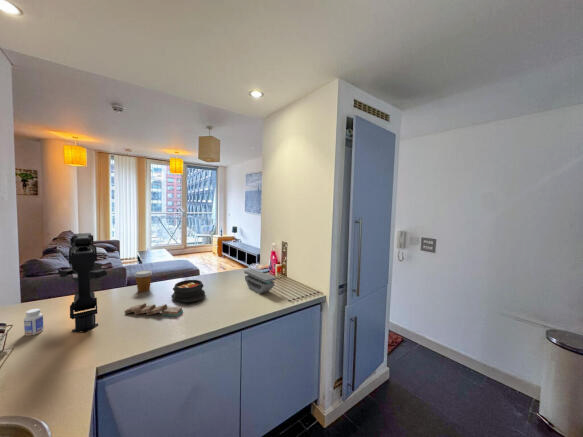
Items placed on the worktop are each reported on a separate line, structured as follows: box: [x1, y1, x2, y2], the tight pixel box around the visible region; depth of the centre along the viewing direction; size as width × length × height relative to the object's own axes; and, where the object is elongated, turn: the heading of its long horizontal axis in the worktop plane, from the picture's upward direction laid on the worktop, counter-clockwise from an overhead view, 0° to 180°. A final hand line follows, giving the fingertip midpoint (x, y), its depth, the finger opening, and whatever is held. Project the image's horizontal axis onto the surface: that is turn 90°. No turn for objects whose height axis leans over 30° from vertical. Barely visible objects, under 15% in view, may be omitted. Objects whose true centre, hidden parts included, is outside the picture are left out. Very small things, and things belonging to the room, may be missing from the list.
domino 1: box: [124, 302, 147, 315], centre depth 119 cm, size 5×2×8 cm
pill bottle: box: [23, 308, 44, 337], centre depth 98 cm, size 5×5×10 cm
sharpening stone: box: [243, 268, 276, 295], centre depth 153 cm, size 25×8×11 cm, turn 43°
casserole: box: [171, 279, 206, 304], centre depth 139 cm, size 25×19×8 cm
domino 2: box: [133, 304, 157, 316], centre depth 118 cm, size 5×2×8 cm
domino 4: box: [160, 306, 183, 315], centre depth 118 cm, size 5×2×8 cm
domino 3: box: [146, 304, 168, 316], centre depth 117 cm, size 5×2×8 cm
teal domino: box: [161, 309, 184, 317], centre depth 118 cm, size 5×2×8 cm
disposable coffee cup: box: [134, 269, 153, 293], centre depth 147 cm, size 10×10×12 cm
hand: (84, 290), depth 112 cm, fingers closed
